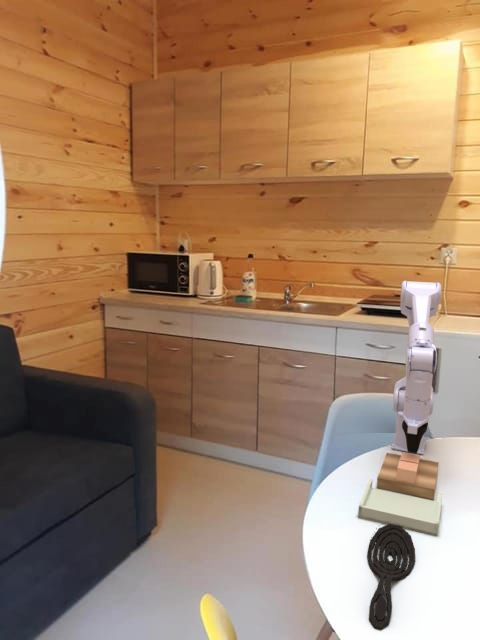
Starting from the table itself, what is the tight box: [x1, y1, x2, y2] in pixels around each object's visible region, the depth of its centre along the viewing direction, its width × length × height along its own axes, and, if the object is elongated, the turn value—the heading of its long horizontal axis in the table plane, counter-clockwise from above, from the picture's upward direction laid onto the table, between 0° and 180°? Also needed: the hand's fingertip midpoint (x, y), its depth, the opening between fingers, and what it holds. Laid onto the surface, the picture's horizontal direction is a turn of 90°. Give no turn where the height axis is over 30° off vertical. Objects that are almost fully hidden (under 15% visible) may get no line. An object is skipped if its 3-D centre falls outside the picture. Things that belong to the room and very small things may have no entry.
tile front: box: [396, 461, 418, 484], centre depth 120 cm, size 4×4×3 cm
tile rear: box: [400, 452, 421, 474], centre depth 124 cm, size 4×4×3 cm
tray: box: [357, 478, 443, 537], centre depth 112 cm, size 13×15×2 cm
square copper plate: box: [376, 452, 439, 501], centre depth 124 cm, size 14×12×3 cm
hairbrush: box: [366, 521, 416, 631], centre depth 92 cm, size 8×4×25 cm
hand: (412, 451), depth 129 cm, fingers closed
